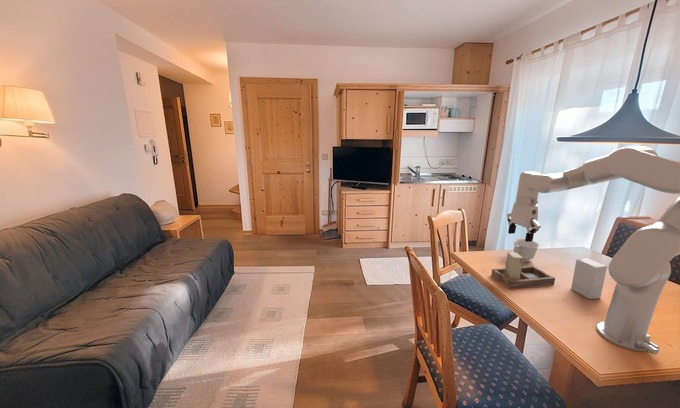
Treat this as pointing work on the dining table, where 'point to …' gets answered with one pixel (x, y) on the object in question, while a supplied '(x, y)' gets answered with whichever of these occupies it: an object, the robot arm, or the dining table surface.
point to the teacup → (525, 249)
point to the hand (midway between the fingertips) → (519, 237)
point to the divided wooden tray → (525, 277)
